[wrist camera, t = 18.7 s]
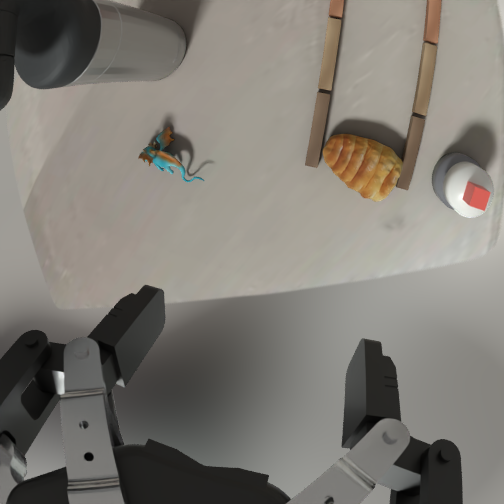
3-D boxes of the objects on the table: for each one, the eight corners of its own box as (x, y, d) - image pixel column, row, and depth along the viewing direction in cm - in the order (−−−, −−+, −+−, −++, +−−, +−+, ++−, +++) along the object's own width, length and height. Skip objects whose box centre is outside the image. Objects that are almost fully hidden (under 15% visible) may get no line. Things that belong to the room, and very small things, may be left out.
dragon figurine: (188, 174, 47) (154, 135, 43) (217, 164, 42) (179, 119, 37) (163, 205, 44) (124, 165, 40) (190, 199, 39) (146, 151, 35)
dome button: (436, 202, 33) (449, 217, 29) (450, 155, 30) (465, 164, 26) (476, 215, 32) (491, 231, 28) (490, 170, 29) (508, 181, 25)
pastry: (313, 165, 38) (311, 174, 35) (338, 117, 34) (338, 121, 31) (379, 201, 38) (383, 213, 35) (406, 156, 34) (412, 164, 31)
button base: (425, 197, 36) (429, 202, 35) (439, 145, 33) (444, 148, 31) (469, 211, 35) (474, 216, 34) (484, 162, 32) (490, 165, 30)
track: (305, 163, 38) (305, 165, 37) (336, -43, 24) (336, -47, 23) (405, 187, 36) (407, 190, 35) (439, -16, 23) (442, -18, 22)
